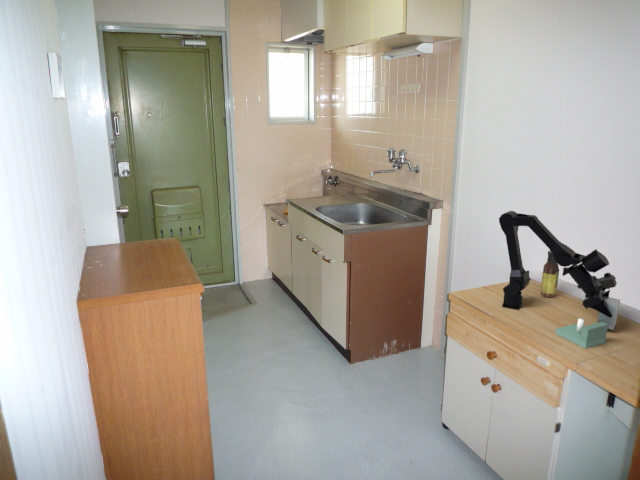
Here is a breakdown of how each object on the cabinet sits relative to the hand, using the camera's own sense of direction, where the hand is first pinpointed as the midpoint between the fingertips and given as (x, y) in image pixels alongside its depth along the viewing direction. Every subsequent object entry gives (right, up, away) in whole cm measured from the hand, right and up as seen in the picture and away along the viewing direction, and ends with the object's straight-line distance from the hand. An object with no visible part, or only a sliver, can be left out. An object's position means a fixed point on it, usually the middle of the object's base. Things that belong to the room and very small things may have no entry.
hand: (612, 314), depth 170 cm
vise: (-14, -8, -4) cm, 17 cm away
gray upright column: (-1, -4, +2) cm, 5 cm away
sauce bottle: (-7, +3, +35) cm, 35 cm away
